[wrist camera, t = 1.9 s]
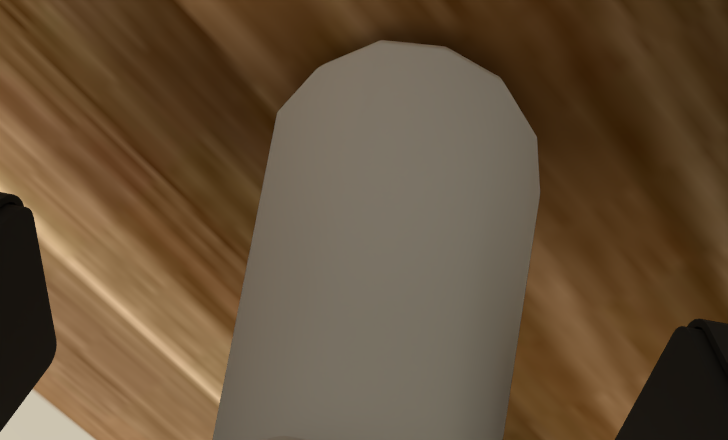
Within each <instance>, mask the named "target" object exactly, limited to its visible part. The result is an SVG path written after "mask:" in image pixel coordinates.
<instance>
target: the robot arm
mask: <svg viewBox="0 0 728 440" xmlns="http://www.w3.org/2000/svg"><path fill="white" fill-rule="evenodd" d="M56 345H57V344H56V336H55V330H54V325H53V320H52V314H51V309H50V303H49V298H48V292H47V287H46V282H45V276H44V271H43V265H42V260H41V254H40V249H39V244H38V238H37V233H36V227H35V222H34V217H33V214H32V211H31V210H30V209H29V208H27V207H24V205H23V202H22V201H21V199H20V198H19V197H18V196H15V195H13V194H7V193H2V192H0V432H1V430H2V429H3V427H4V426H5V425H6V424H7V422H8V421H9V419H10V418H11V417H12V416H13V414H14V413H15V411H16V410H17V409H18V407H19V406H20V405H21V403H22V402H23V401H24V399H25V398H26V397H27V395H28V394H29V393H30V391H31V390H32V389H33V387H34V386H35V385H36V383H37V382H38V381H39V379H40V378H41V377H42V375H43V374H44V373H45V371H46V370H47V369H48V367H49V366H50V364H51V363H52V360H53V358H54V355H55V352H56ZM615 440H728V324H726V323H720V322H715V321H709V320H704V319H695V320H693V321H692V322H690V323H689V325H688V326H687V327H684V326H681V327H678V328H677V329H676V330H675V331H674V333H673V334H672V336H671V338H670V340H669V342H668V344H667V345H666V347H665V349H664V351H663V353H662V355H661V356H660V358H659V360H658V362H657V364H656V365H655V367H654V369H653V371H652V373H651V375H650V376H649V378H648V380H647V382H646V384H645V386H644V387H643V389H642V391H641V393H640V395H639V397H638V398H637V400H636V402H635V404H634V406H633V407H632V409H631V411H630V413H629V415H628V417H627V418H626V420H625V422H624V424H623V426H622V428H621V429H620V431H619V433H618V435H617V437H616V439H615Z"/></svg>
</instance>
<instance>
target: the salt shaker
mask: <svg viewBox="0 0 728 440" xmlns="http://www.w3.org/2000/svg"><path fill="white" fill-rule="evenodd" d="M539 198H540V182H539V164H538V146H537V136H536V135H535V133H534V131H533V130H532V128H531V126H530V125H529V123H528V121H527V120H526V118H525V116H524V115H523V113H522V112H521V110H520V108H519V107H518V105H517V103H516V102H515V100H514V98H513V97H512V95H511V93H510V92H509V90H508V89H507V87H506V85H505V84H504V82H503V81H502V79H501V78H500V77H499V76H497V75H495V74H493V73H492V72H490V71H488V70H486V69H485V68H483V67H481V66H479V65H477V64H476V63H474V62H472V61H470V60H469V59H467V58H465V57H463V56H462V55H460V54H458V53H456V52H454V51H453V50H451V49H449V48H447V47H445V46H436V45H426V44H416V43H406V42H397V41H387V40H380V41H377V42H375V43H373V44H370V45H368V46H366V47H363V48H361V49H358V50H356V51H354V52H351V53H349V54H347V55H344V56H342V57H339V58H337V59H335V60H332V61H330V62H328V63H325V64H324V65H322V66H320V67H319V68H317V69H316V70H315V71H314V72H313V73H312V74H311V76H310V77H309V78H308V79H307V80H306V81H305V82H304V83H303V84H302V85H301V87H300V88H299V89H298V90H297V91H296V92H295V93H294V94H293V95H292V96H291V98H290V99H289V100H288V101H287V102H286V103H285V104H284V105H283V106H282V107H281V109H280V110H279V111H278V112H277V116H276V121H275V126H274V132H273V137H272V142H271V147H270V152H269V157H268V162H267V167H266V172H265V177H264V182H263V187H262V192H261V197H260V202H259V207H258V212H257V217H256V223H255V228H254V233H253V238H252V243H251V248H250V253H249V258H248V263H247V268H246V273H245V278H244V283H243V288H242V293H241V298H240V303H239V308H238V314H237V319H236V324H235V329H234V334H233V339H232V344H231V349H230V354H229V359H228V364H227V369H226V374H225V379H224V384H223V389H222V394H221V399H220V405H219V410H218V415H217V420H216V425H215V430H214V435H213V440H503V434H504V428H505V421H506V415H507V408H508V402H509V395H510V388H511V382H512V375H513V369H514V362H515V356H516V349H517V342H518V336H519V329H520V323H521V316H522V310H523V303H524V296H525V290H526V283H527V277H528V270H529V264H530V257H531V250H532V244H533V237H534V231H535V224H536V217H537V211H538V204H539Z"/></svg>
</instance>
